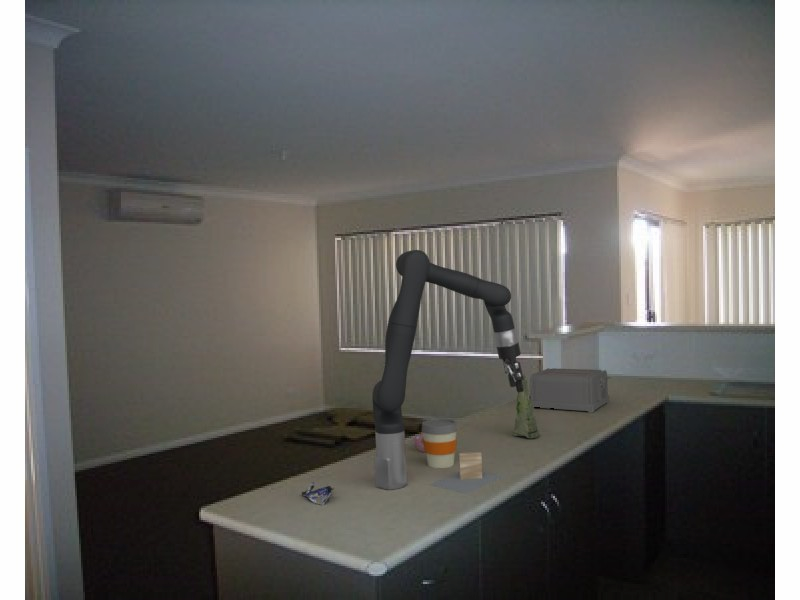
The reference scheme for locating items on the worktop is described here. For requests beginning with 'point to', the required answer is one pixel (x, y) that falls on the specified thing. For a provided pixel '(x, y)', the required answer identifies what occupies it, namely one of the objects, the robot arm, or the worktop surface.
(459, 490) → the rubber mat
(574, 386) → the toaster
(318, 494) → the snack package
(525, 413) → the green rock spire
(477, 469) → the birch tile
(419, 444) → the video game controller
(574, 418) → the worktop surface
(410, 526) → the worktop surface
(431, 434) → the reusable coffee cup
